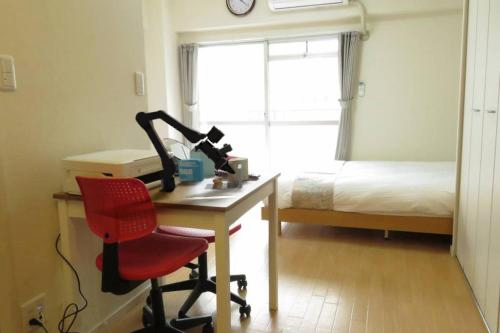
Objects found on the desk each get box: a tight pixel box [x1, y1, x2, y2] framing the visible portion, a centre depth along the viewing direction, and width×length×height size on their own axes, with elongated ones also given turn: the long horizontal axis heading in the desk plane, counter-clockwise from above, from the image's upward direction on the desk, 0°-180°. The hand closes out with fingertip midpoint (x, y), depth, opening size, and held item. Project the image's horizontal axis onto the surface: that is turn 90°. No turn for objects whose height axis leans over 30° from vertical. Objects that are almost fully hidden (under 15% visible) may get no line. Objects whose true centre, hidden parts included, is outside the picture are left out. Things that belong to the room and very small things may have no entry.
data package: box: [177, 158, 205, 183], centre depth 199 cm, size 12×4×12 cm, turn 76°
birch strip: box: [227, 159, 237, 183], centre depth 182 cm, size 4×2×12 cm, turn 90°
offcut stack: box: [212, 176, 224, 189], centre depth 183 cm, size 4×10×4 cm, turn 0°
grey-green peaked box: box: [189, 139, 217, 178], centre depth 216 cm, size 16×8×20 cm, turn 80°
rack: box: [204, 164, 244, 190], centre depth 182 cm, size 18×12×10 cm
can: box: [229, 157, 249, 182], centre depth 197 cm, size 9×9×12 cm
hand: (235, 173), depth 182 cm, fingers closed on birch strip, 2 cm apart
